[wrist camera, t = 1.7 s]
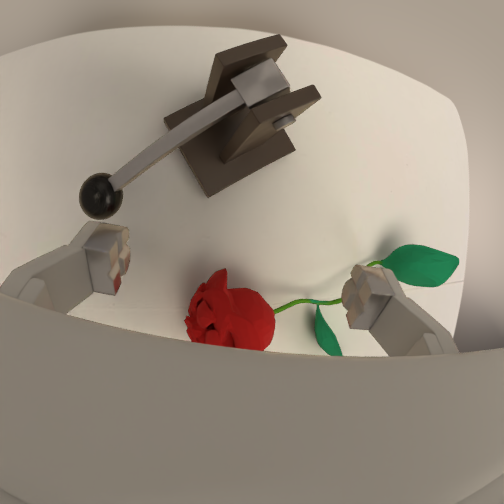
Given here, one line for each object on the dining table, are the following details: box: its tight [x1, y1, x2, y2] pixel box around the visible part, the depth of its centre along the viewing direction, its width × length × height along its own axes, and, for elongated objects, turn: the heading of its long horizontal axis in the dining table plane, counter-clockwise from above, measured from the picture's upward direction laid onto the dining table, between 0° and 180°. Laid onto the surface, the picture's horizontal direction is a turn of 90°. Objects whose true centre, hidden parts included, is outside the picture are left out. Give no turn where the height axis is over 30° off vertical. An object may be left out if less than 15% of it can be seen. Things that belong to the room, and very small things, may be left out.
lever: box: [79, 58, 290, 220], centre depth 18 cm, size 17×4×4 cm, turn 120°
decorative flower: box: [184, 244, 459, 356], centre depth 27 cm, size 14×30×10 cm, turn 94°
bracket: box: [164, 34, 321, 198], centre depth 21 cm, size 10×9×14 cm
